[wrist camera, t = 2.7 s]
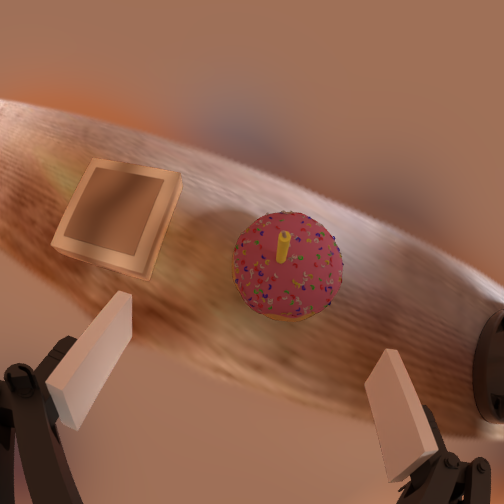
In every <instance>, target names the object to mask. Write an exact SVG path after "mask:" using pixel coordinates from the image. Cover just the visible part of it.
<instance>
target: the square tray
mask: <svg viewBox="0 0 504 504" xmlns="http://www.w3.org/2000/svg"><path fill="white" fill-rule="evenodd" d="M182 188H183V185H182V179H181V173H179V172H174V171H168V170H163V169H158V168H153V167H147V166H141V165H136V164H130V163H124V162H118V161H112V160H105V159H99V158H92V160H91V162H90V163H89V165H88V167H87V169H86V171H85V172H84V174H83V176H82V178H81V180H80V182H79V184H78V186H77V188H76V190H75V192H74V193H73V195H72V198H71V200H70V202H69V204H68V206H67V208H66V210H65V212H64V214H63V216H62V219H61V221H60V223H59V225H58V228H57V230H56V232H55V235H54V237H53V239H52V242H51V244H50V245H51V246H52V247H53V248H55V249H56V250H57V251H58V252H59V253H61V254H62V255H65V256H68V257H71V258H74V259H77V260H80V261H83V262H86V263H89V264H93V265H96V266H99V267H102V268H105V269H109V270H112V271H115V272H118V273H122V274H125V275H128V276H132V277H135V278H139V279H142V280H146V281H150V278H151V275H152V272H153V269H154V266H155V263H156V260H157V257H158V254H159V251H160V248H161V245H162V242H163V239H164V236H165V234H166V231H167V228H168V225H169V223H170V220H171V217H172V214H173V212H174V209H175V207H176V204H177V201H178V199H179V196H180V194H181V191H182Z"/></svg>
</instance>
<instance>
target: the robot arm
mask: <svg viewBox="0 0 504 504" xmlns="http://www.w3.org/2000/svg"><path fill="white" fill-rule="evenodd" d="M131 338H132V294H129V293H125V292H122V291H119V290H118V292H117V293H116V294H115V295H114V296H113V297H112V299H111V300H110V301H109V302H108V303H107V304H106V306H105V307H104V308H103V309H102V310H101V312H100V313H99V314H98V315H97V316H96V318H95V319H94V320H93V321H92V322H91V324H90V325H89V326H88V327H87V329H86V330H85V331H84V332H83V333H82V335H81V336H80V337H79V338H78V339H76V338H73V337H70V336H67V337H65V338H63V339H61V340H59V341H58V343H57V344H56V345H55V346H54V347H53V350H51V351H50V352H49V353H48V356H46V357H45V358H44V359H43V361H42V362H41V363H40V364H39V366H38V367H37V368H36V369H35V371H33V369H32V368H31V367H30V366H28V365H26V364H21V363H17V364H14V365H11V366H10V367H9V368H7V370H6V371H5V374H4V380H5V381H1V380H0V504H15V500H14V445H15V432H16V438H17V443H18V448H19V453H20V458H21V462H22V467H23V471H24V475H25V478H26V482H27V485H28V489H29V492H30V496H31V499H32V502H33V504H83V502H82V500H81V497H80V495H79V492H78V490H77V487H76V485H75V482H74V480H73V477H72V474H71V471H70V469H69V466H68V463H67V460H66V457H65V453H64V450H63V447H62V444H61V441H60V437H59V433H58V430H57V426H56V424H55V422H56V420H57V419H58V417H60V420H61V422H62V424H64V425H66V426H68V427H70V428H72V429H74V430H76V431H78V430H79V428H80V426H81V424H82V422H83V420H84V419H85V417H86V415H87V413H88V411H89V410H90V408H91V406H92V404H93V402H94V400H95V399H96V397H97V395H98V393H99V392H100V390H101V388H102V386H103V385H104V383H105V381H106V380H107V378H108V376H109V375H110V373H111V371H112V369H113V368H114V366H115V364H116V363H117V361H118V359H119V358H120V356H121V354H122V353H123V351H124V349H125V348H126V346H127V344H128V343H129V341H130V340H131ZM364 386H365V389H366V393H367V396H368V400H369V404H370V407H371V411H372V415H373V419H374V422H375V426H376V430H377V434H378V438H379V442H380V447H381V451H382V455H383V459H384V463H385V468H386V473H387V477H388V482H389V483H391V482H399V481H403V480H404V479H405V478H407V477H408V476H409V475H410V477H411V481H409V482H408V483H407V484H406V485H404V486H403V487H401V488H400V489H399V490H398V492H400V491H402V490H403V489H404V491H403V493H402V494H401V496H400V498H399V500H398V501H397V503H396V504H490V494H491V468H490V465H489V463H488V461H487V460H486V459H484V458H482V457H478V458H476V459H474V460H473V461H472V462H471V463H467V462H461V461H460V460H459V458H458V457H457V456H456V455H455V454H454V453H451V452H448V451H447V449H446V447H445V444H444V441H443V439H442V436H441V434H440V431H439V429H438V426H437V424H436V422H435V419H434V416H433V414H432V412H431V411H430V409H429V408H428V407H427V406H426V405H421V403H420V400H419V398H418V396H417V393H416V391H415V388H414V386H413V384H412V382H411V379H410V377H409V375H408V372H407V370H406V368H405V366H404V364H403V361H402V359H401V357H400V355H399V353H398V351H397V350H394V349H385V350H384V352H383V354H382V356H381V357H380V359H379V361H378V362H377V364H376V366H375V367H374V369H373V371H372V372H371V374H370V375H369V377H368V379H367V380H366V382H365V383H364ZM473 387H474V395H475V400H476V404H477V407H478V409H479V412H480V413H481V415H482V416H483V418H484V419H485V420H486V421H488V422H490V423H493V424H504V310H501V311H498V312H497V313H495V314H494V315H493V316H492V317H491V318H490V319H489V320H488V322H487V323H486V325H485V327H484V329H483V331H482V333H481V336H480V338H479V342H478V345H477V349H476V354H475V360H474V369H473ZM463 495H464V500H462V496H463Z"/></svg>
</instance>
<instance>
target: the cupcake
mask: <svg viewBox="0 0 504 504" xmlns="http://www.w3.org/2000/svg"><path fill="white" fill-rule="evenodd" d="M333 237H334V236H333ZM333 237H332V236H331V235H330V233H329V232H328V231H327V230H326V229H325V228H324V226H323V225H322V224H320V223H318V222H317V221H315V220H313V219H312V218H310V217H308V216H306V215H305V214H302V213H295V212H292V211H291V212H285V211H281V212H280V213H273V214H268V213H266V215H265V216H262V217H260V218H259V219H257V220H256V221H255V222H254V223H253V224H252V225H251V226H250V227H248V228H247V229H246V230H245V231H244V232H243V233H241V236H240V237H239V239H238V241H237V244H236V247H235V250H234V253H233V258H232V275H233V281H234V283H235V285H236V287H237V289H238V291H239V292H240V294H241V296H242V298H243V300H244V301H245V303H246V304H247V305H248V306H249V307H250V308H252V309H253V310H254V311H256V312H258V313H260V314H263V315H265V316H267V317H269V318H271V319H274V320H280V321H289V322H297V321H301V320H304V319H307V318H309V317H311V316H312V315H314V314H316V313H319V312H321V311H322V310H323V309H324V308H325V307H327V305H330V304H331V300H332V299H333V298H334V296H335V295H336V293H337V292H338V290H339V288H340V285H341V283H342V270H343V265H344V264H343V263H342V258H341V257H342V256H341V253H340V249H339V248H338V246H337V244H336V242H335V237H334V238H333Z"/></svg>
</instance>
